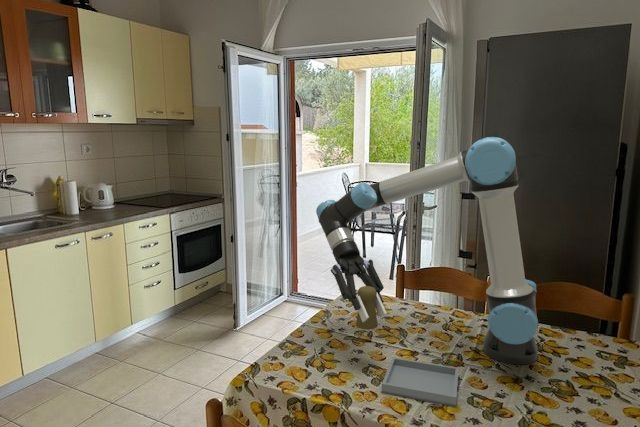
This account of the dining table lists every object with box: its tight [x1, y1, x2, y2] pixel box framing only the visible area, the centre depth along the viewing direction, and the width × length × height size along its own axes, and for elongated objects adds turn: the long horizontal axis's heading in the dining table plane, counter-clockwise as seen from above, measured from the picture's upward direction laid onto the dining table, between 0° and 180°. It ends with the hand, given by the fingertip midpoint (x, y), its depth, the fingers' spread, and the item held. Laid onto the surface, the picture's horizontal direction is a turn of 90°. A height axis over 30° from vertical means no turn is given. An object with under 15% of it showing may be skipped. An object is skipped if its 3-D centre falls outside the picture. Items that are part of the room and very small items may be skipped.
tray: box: [381, 356, 460, 408], centre depth 115 cm, size 18×15×2 cm
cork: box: [355, 285, 378, 331], centre depth 122 cm, size 6×6×11 cm
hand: (374, 317), depth 119 cm, fingers closed on cork, 5 cm apart
